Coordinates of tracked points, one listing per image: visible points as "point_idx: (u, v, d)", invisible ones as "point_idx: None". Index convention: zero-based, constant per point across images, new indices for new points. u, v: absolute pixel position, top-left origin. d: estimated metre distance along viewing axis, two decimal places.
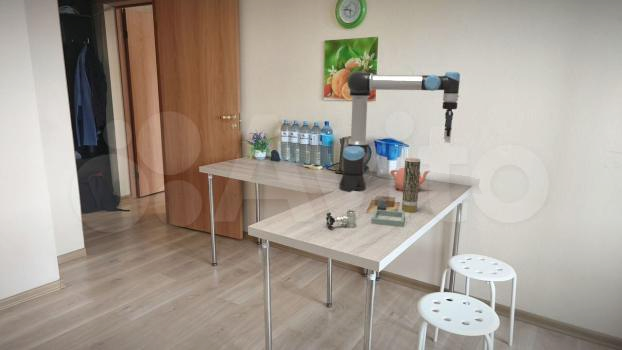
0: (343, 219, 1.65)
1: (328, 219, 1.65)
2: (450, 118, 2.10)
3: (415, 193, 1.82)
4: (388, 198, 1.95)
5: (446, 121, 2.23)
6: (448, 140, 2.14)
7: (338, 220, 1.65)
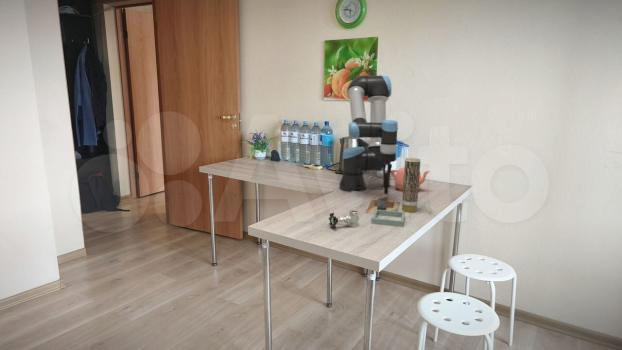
0: (346, 219, 1.65)
1: (331, 219, 1.64)
2: (387, 176, 1.91)
3: (415, 193, 1.82)
4: (388, 199, 1.94)
5: None
6: None
7: (341, 220, 1.65)
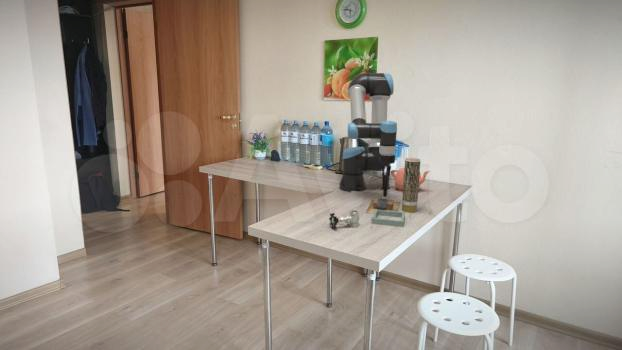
0: (347, 219, 1.65)
1: (332, 219, 1.64)
2: (386, 178, 1.87)
3: (415, 193, 1.82)
4: (387, 201, 1.90)
5: None
6: None
7: (342, 220, 1.65)
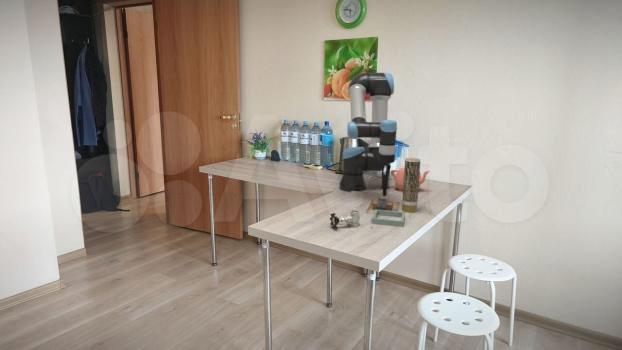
0: (347, 219, 1.65)
1: (332, 219, 1.64)
2: (385, 178, 1.85)
3: (415, 193, 1.82)
4: None
5: None
6: None
7: (342, 220, 1.65)
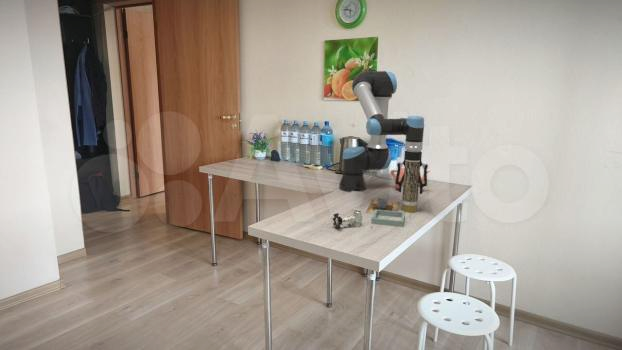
0: (350, 219, 1.65)
1: (336, 220, 1.64)
2: (397, 171, 1.84)
3: (415, 193, 1.82)
4: None
5: None
6: (401, 196, 1.86)
7: (345, 220, 1.65)
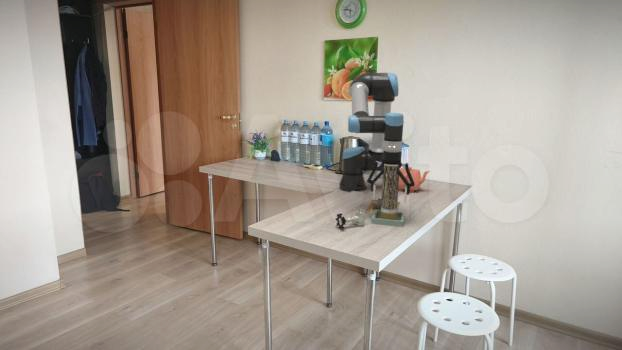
0: (353, 219, 1.65)
1: (339, 220, 1.64)
2: (372, 169, 1.70)
3: (394, 200, 1.68)
4: None
5: None
6: (373, 196, 1.72)
7: (349, 220, 1.65)
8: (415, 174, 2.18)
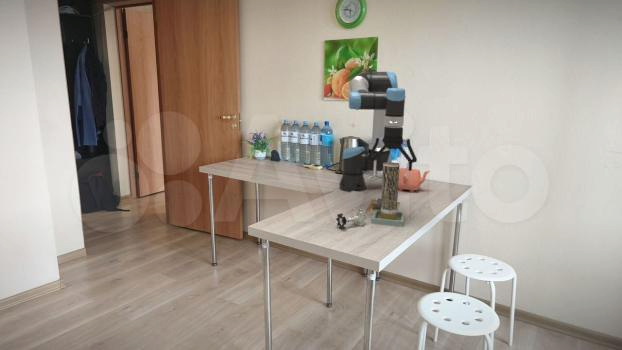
0: (354, 219, 1.65)
1: (340, 220, 1.64)
2: (373, 145, 1.68)
3: (394, 200, 1.68)
4: None
5: None
6: None
7: (349, 220, 1.65)
8: (415, 174, 2.18)
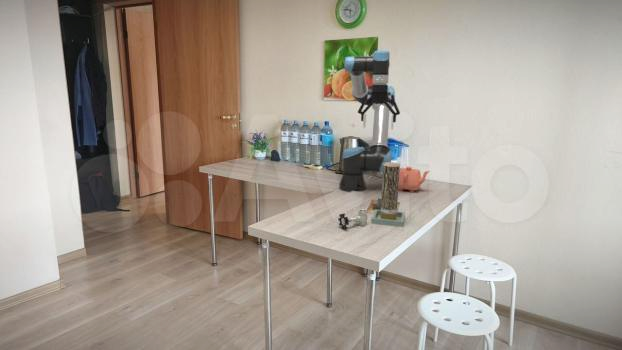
0: (356, 219, 1.66)
1: (342, 220, 1.64)
2: (363, 101, 1.95)
3: (394, 200, 1.68)
4: None
5: None
6: (363, 125, 1.98)
7: (351, 220, 1.65)
8: (415, 174, 2.18)
